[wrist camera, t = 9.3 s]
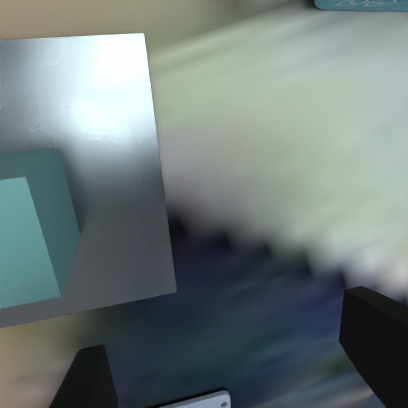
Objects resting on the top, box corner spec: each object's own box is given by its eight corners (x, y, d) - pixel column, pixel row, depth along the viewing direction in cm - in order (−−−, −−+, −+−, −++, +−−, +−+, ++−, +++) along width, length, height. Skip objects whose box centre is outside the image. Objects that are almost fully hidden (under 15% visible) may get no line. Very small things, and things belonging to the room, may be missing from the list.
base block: (170, 266, 19) (177, 292, 16) (-56, 309, 16) (-86, 345, 14) (141, 41, 14) (143, 33, 12) (-173, 58, 12) (-244, 52, 10)
